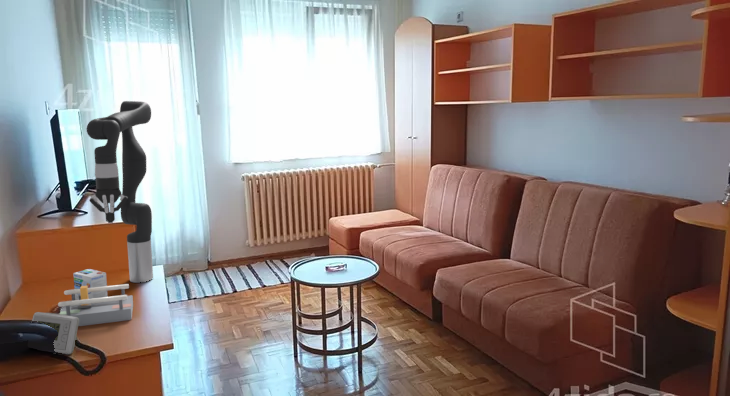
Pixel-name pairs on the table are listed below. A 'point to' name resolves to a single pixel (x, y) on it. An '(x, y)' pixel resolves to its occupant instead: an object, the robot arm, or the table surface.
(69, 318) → the digital clock
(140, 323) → the table surface
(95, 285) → the light bulb box
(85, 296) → the breaker toggle
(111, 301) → the breaker panel
